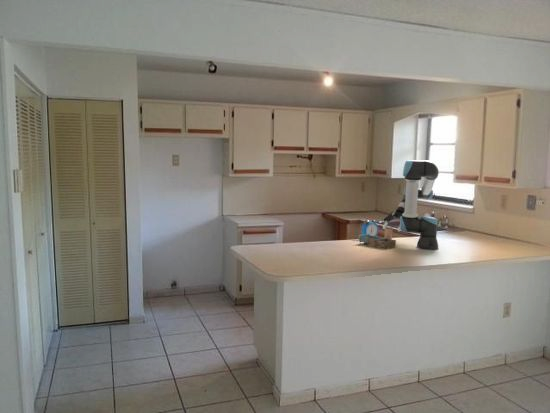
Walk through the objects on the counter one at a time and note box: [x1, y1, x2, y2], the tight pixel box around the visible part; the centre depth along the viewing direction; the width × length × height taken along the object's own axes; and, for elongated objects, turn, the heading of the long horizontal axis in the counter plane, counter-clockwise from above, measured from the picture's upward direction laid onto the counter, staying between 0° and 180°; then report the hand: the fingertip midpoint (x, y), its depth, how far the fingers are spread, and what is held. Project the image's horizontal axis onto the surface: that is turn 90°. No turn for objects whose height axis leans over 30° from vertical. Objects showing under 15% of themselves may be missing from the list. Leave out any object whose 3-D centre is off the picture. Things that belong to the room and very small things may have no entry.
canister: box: [384, 226, 393, 240], centre depth 358 cm, size 6×6×12 cm
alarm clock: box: [360, 219, 380, 237], centre depth 375 cm, size 13×6×15 cm, turn 113°
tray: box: [358, 234, 386, 244], centre depth 347 cm, size 16×13×5 cm
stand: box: [366, 238, 397, 250], centre depth 342 cm, size 15×14×5 cm
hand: (390, 229), depth 361 cm, fingers open, 13 cm apart
